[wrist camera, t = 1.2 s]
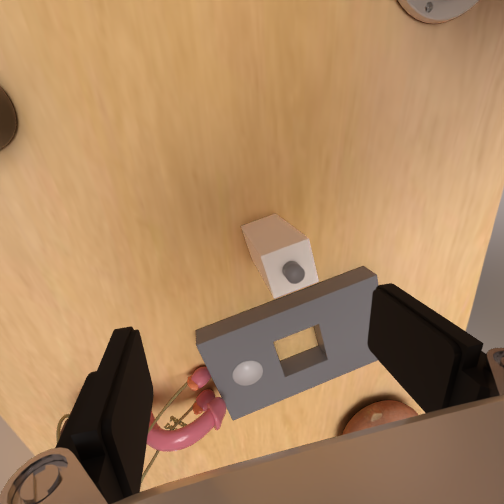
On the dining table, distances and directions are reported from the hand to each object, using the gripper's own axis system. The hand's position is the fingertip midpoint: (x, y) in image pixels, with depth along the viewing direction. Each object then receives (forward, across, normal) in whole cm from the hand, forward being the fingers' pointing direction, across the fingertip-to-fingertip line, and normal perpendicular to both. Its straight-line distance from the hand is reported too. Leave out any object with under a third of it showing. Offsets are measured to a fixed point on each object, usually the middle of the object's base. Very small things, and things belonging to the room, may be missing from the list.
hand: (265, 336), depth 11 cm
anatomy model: (+23, +11, +24) cm, 35 cm away
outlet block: (+22, -9, +19) cm, 31 cm away
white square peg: (+22, -5, +3) cm, 23 cm away
